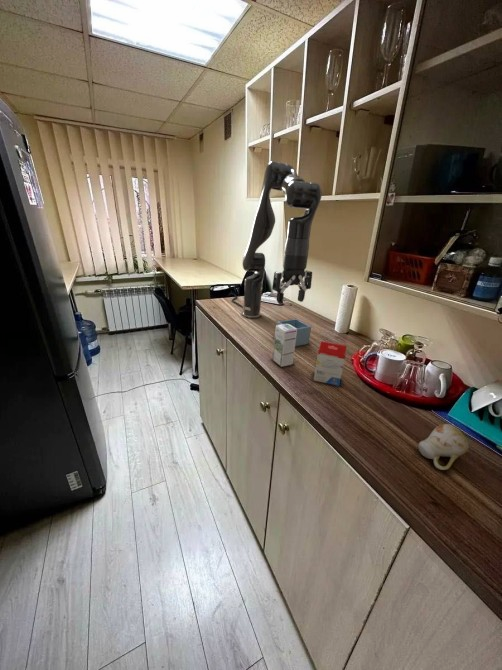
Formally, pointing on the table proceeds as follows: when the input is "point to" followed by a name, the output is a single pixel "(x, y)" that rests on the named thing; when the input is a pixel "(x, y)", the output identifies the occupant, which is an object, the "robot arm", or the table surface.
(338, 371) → the ink box
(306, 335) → the tidy
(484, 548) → the table surface
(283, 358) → the syrup box
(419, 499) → the table surface
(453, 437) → the mug
